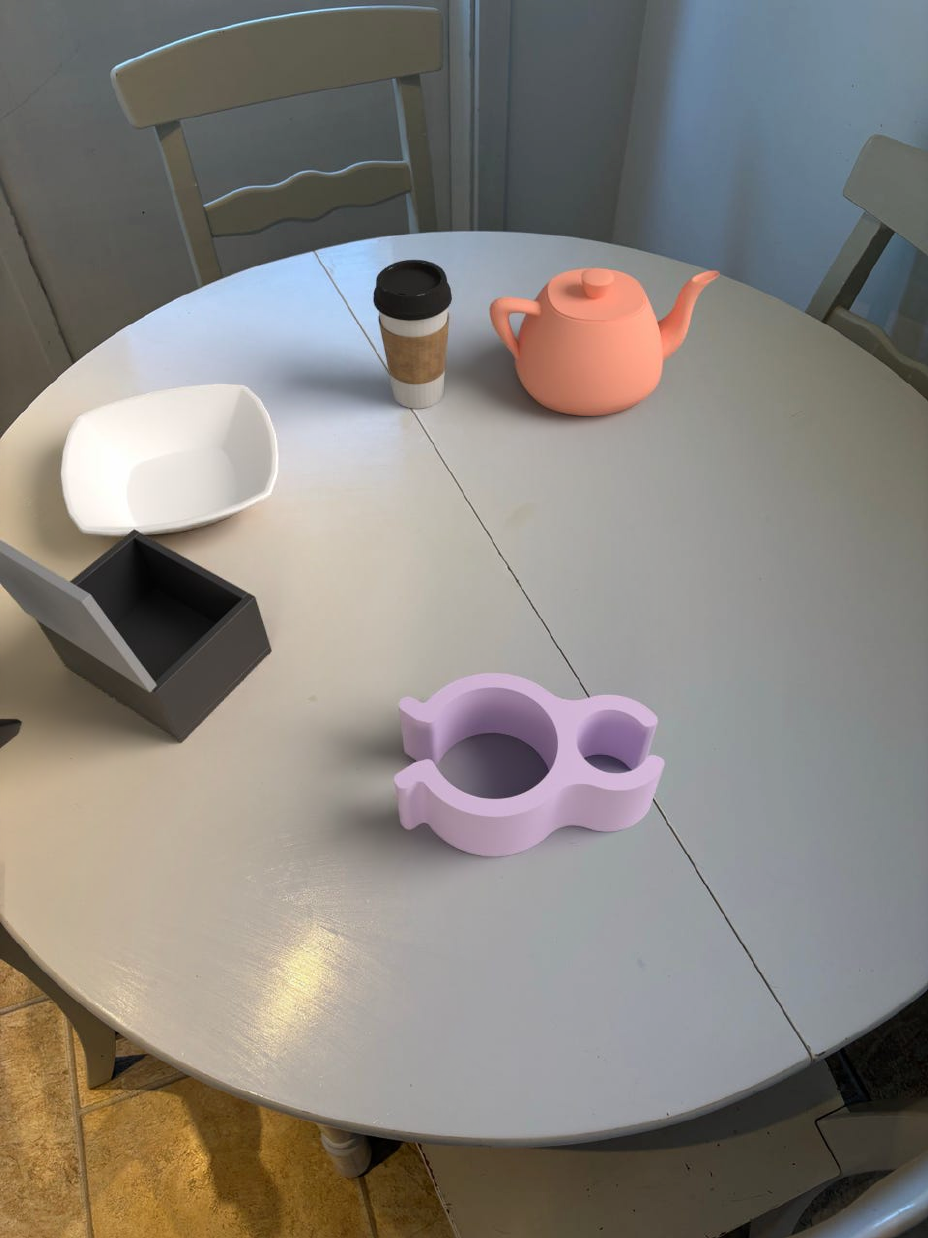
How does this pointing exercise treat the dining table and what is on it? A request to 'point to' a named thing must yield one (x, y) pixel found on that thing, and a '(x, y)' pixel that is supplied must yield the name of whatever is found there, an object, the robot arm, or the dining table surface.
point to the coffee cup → (414, 329)
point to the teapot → (593, 339)
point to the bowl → (168, 460)
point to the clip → (560, 741)
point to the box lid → (68, 613)
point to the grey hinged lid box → (168, 633)
